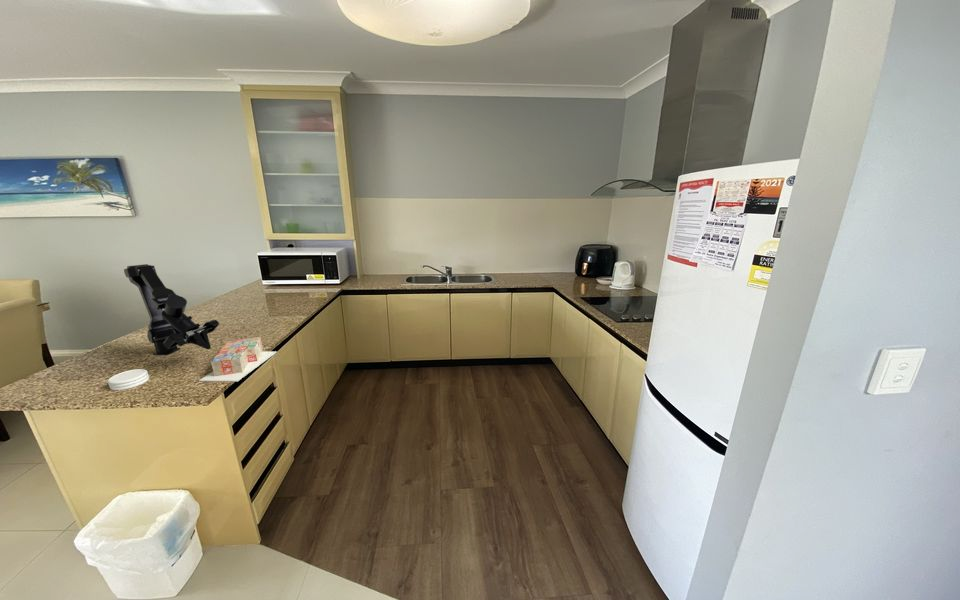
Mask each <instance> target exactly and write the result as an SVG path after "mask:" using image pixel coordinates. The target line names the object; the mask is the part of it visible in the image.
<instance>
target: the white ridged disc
mask: <svg viewBox="0 0 960 600" xmlns="http://www.w3.org/2000/svg"><path fill="white" fill-rule="evenodd" d="M149 380H150V376H149V372H148V370H146V369H144V368H143V369H142V368H136V369H135V368H134V369H129V370H126V371H123V372H119V373H116V374H114V375H112V376H111V377H110V378H108V380H107V384H108V386H109V389H110V390H112V391H123V390H130V389H133V388H136V387H139V386H141V385H144V384H145V383H147V382H148V381H149Z"/></svg>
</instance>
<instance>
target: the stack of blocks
mask: <svg viewBox="0 0 960 600" xmlns="http://www.w3.org/2000/svg"><path fill="white" fill-rule="evenodd" d="M262 351H264V348H263V342H262V337H261V336H257V337H248V338H241V339H233V340H228V341H226V342H225V344H224V345H223V347H221V348H220V350H219V352H218V353H217V354H216V355H215V356H214V358H213V359H211V360H212V361H211V362H210V364H211V368H212V372H214V376H218V375H226V374H232V373H241V372H243V371H244V369H245V368H246V366H247V364H248V362H252V361H257V360H258V358H259V356H260V354H261V352H262Z"/></svg>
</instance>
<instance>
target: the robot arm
mask: <svg viewBox="0 0 960 600" xmlns="http://www.w3.org/2000/svg"><path fill="white" fill-rule="evenodd" d="M123 271H124V272H123V273H124V276H125V277H126V278H128V280H129V282H130V283H131V284H133V286H136V287H137V288H138V291H139V293H140V295H141V298H142V300H143V303H144V306H145V309H146V311H147V313H148V316H149V319H150V320H149V322H148V325H147V328H148V329H147V335H146V337H147V340H148V341H149V342H150V343H152V344H154V349H155V352H154V353H152V354H153V355H154V356H155V355H156V356H158V355H161V356H162V355H165V356H166V355H167V356H168V355H170V354H173V353H175V352H176V351H180V349H181V347H183V346H184V345H188V344H189V345H190V344H192V345H195V346H198V347H200V348H204V349H206V350H211V347H212V346H211V343H210V339H209V335H208V334H211V333H213V332H214V331H215V330H216V329H217V328H218V327H219V326H220V323H221V322H219V321H218V320H217V319H212V320H211V319H210V320H209V321H206V322H204V324H203V325H202V326H201V324H200V323H195V322H194V321H193V320H192V319H193V317H192V316H191V315H189V316H188V315H187V314H186V313H185V311H186V308H187V307H186V306H187V303H188V302H187V299H186V298H185V297H183V296H180V295H179V294H176V293H175V292H174V290H173V289H170V288H167V287H166V286H165V284H164V283H163V281H162V280H161V279H160V277H159V276H158V274H157V271H156V268H155V265H150V264H148V263H146V264H144V263H143V264H136V265H127V267H126V268H124V269H123Z"/></svg>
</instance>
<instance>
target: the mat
mask: <svg viewBox="0 0 960 600" xmlns="http://www.w3.org/2000/svg"><path fill="white" fill-rule="evenodd" d="M275 354H277V351H264V350H262V352H261V354H260V356H259V358H258V360H257V361H252V362H248V364H247V366H246V368H245V369H244V371H243V372H241V373H232V374H226V375H218V376H214V372H213V371H211V372H209V373H208V374H207V375H205V376H203V377H202V378H201V379H199V380H198V381H199V382H223V383H224V382H228V383H229V382H230V383H231V382H233V383H235V382H236V383H238V382H239V381H240V380H242V378H245V377H246V376H247V375H248V374H250V373H251V372H252V371H254V370H255V369H256V368H258V367H260V365H262V364H263V363H264V362H266V361H267V360H269V359H270V358H271V357H272V356H274V355H275Z"/></svg>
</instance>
